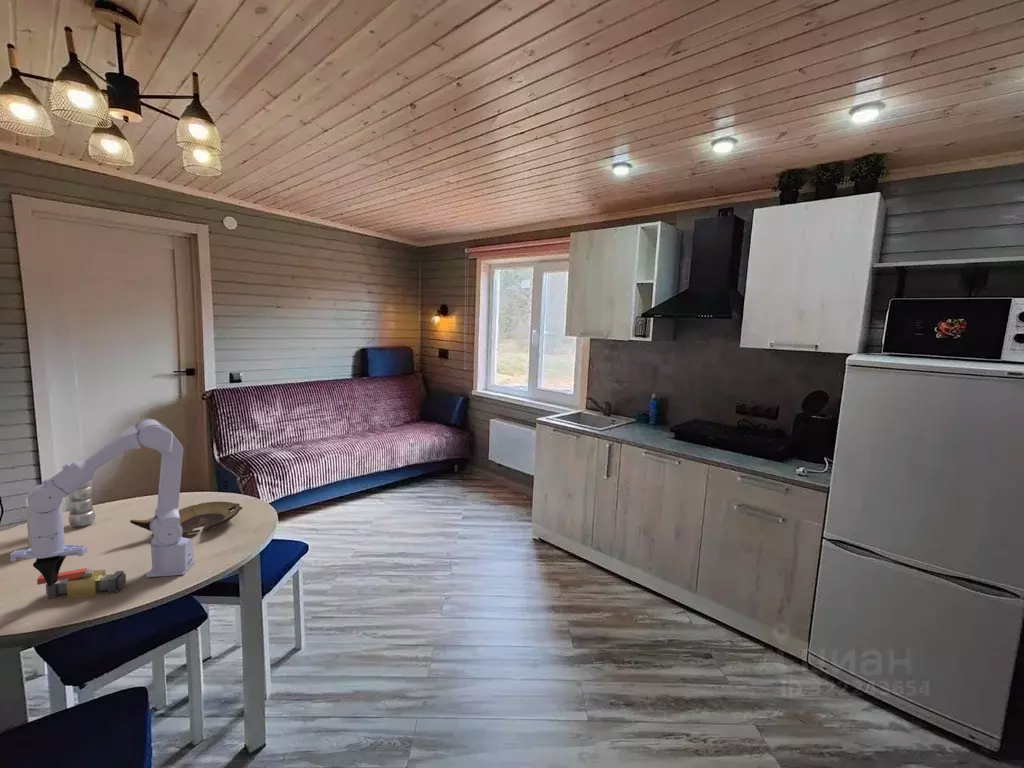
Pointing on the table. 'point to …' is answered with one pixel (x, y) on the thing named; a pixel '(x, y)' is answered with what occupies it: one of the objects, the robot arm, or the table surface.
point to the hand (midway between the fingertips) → (52, 584)
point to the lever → (67, 575)
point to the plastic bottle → (81, 506)
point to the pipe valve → (88, 584)
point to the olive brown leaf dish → (200, 516)
